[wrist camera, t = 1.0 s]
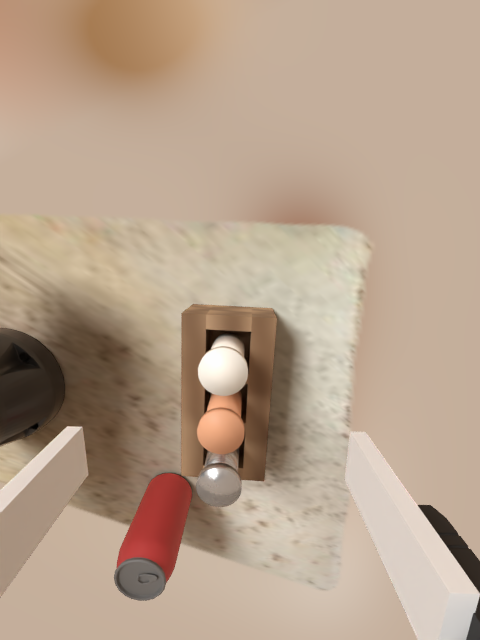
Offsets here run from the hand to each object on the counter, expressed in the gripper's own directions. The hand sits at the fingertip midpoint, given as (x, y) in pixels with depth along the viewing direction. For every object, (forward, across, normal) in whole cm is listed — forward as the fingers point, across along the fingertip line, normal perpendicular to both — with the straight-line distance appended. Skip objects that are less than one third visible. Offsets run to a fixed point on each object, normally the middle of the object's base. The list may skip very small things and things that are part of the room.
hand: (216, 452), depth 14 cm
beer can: (+23, -9, -24) cm, 34 cm away
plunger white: (+18, 0, 0) cm, 18 cm away
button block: (+22, 0, -6) cm, 23 cm away
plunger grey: (+18, -1, -12) cm, 22 cm away
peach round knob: (+18, 0, -6) cm, 19 cm away
